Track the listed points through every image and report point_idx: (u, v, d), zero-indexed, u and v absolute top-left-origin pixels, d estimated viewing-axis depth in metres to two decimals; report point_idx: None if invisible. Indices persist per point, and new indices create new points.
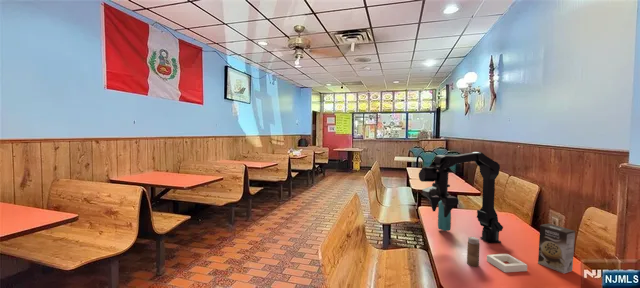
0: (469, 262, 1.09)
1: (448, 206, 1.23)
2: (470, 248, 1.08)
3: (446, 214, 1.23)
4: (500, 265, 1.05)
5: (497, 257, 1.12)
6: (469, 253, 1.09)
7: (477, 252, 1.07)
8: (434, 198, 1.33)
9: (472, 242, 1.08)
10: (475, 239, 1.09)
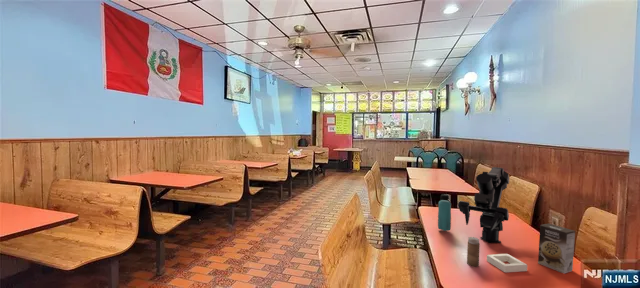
0: (469, 262, 1.09)
1: None
2: (470, 248, 1.08)
3: (493, 226, 1.12)
4: (500, 265, 1.05)
5: (497, 257, 1.12)
6: (469, 253, 1.09)
7: (477, 252, 1.07)
8: (468, 212, 1.21)
9: (472, 242, 1.08)
10: (475, 239, 1.09)
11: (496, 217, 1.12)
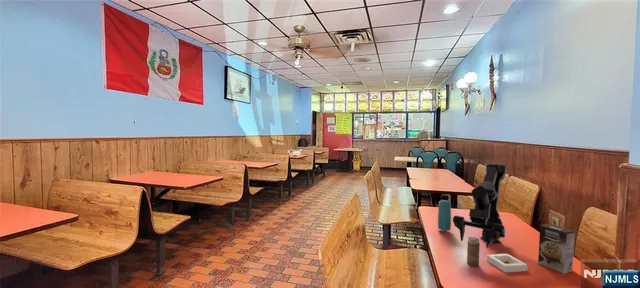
0: (469, 262, 1.09)
1: None
2: (470, 248, 1.08)
3: (489, 244, 1.07)
4: (500, 265, 1.05)
5: (497, 257, 1.12)
6: (469, 253, 1.09)
7: (477, 252, 1.07)
8: (463, 227, 1.16)
9: (472, 242, 1.08)
10: (475, 239, 1.09)
11: (492, 234, 1.07)
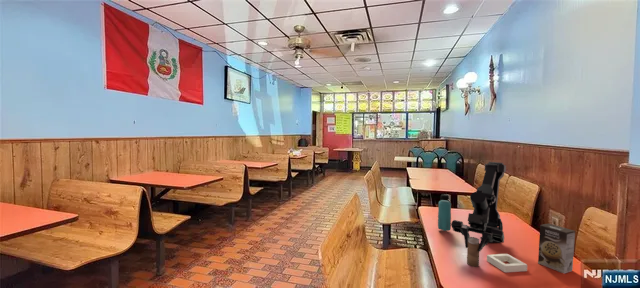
0: (469, 262, 1.09)
1: (485, 240, 1.09)
2: (470, 248, 1.08)
3: (481, 248, 1.07)
4: (500, 265, 1.05)
5: (497, 257, 1.12)
6: (469, 253, 1.09)
7: (477, 252, 1.07)
8: (468, 233, 1.13)
9: (472, 242, 1.08)
10: (475, 239, 1.09)
11: (484, 238, 1.08)
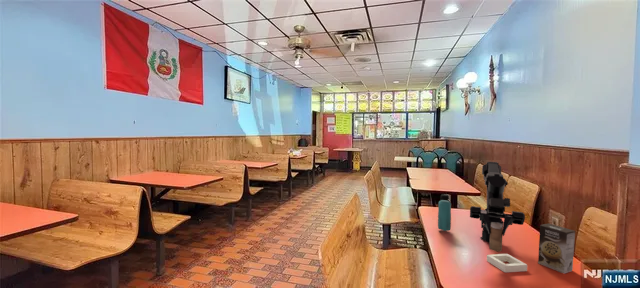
0: (493, 247, 1.07)
1: None
2: (494, 233, 1.06)
3: None
4: (500, 265, 1.05)
5: (497, 257, 1.12)
6: (493, 238, 1.07)
7: (501, 236, 1.06)
8: None
9: (496, 227, 1.06)
10: (498, 223, 1.07)
11: (507, 221, 1.07)
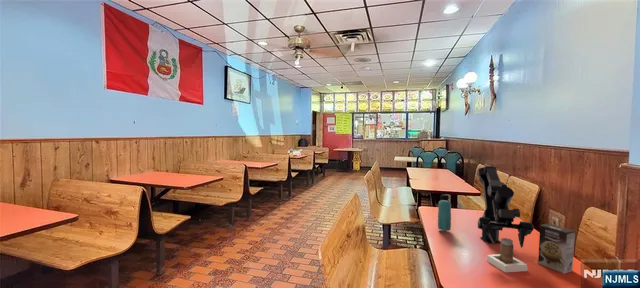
0: None
1: None
2: (506, 250, 1.07)
3: None
4: (500, 265, 1.05)
5: (497, 257, 1.12)
6: (505, 255, 1.07)
7: (512, 253, 1.07)
8: None
9: (508, 243, 1.06)
10: (509, 240, 1.08)
11: (523, 233, 1.07)
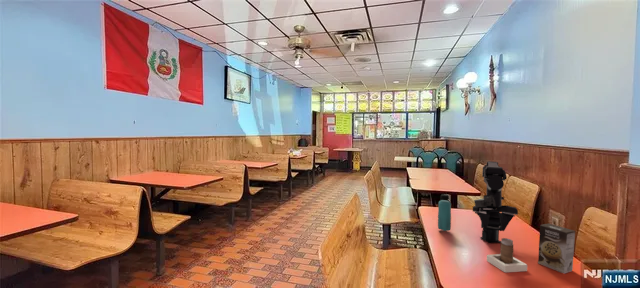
0: None
1: (505, 218, 1.13)
2: (506, 250, 1.07)
3: (503, 227, 1.12)
4: (500, 265, 1.05)
5: (497, 257, 1.12)
6: (505, 255, 1.07)
7: (512, 253, 1.07)
8: (484, 214, 1.23)
9: (508, 244, 1.06)
10: (509, 240, 1.08)
11: (501, 217, 1.12)
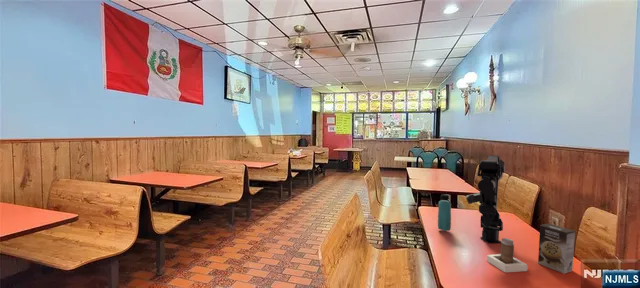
0: None
1: (488, 215, 1.14)
2: (506, 250, 1.07)
3: (486, 223, 1.15)
4: (500, 265, 1.05)
5: (497, 257, 1.12)
6: (505, 255, 1.07)
7: None
8: None
9: (508, 244, 1.06)
10: (509, 240, 1.08)
11: (482, 214, 1.15)
